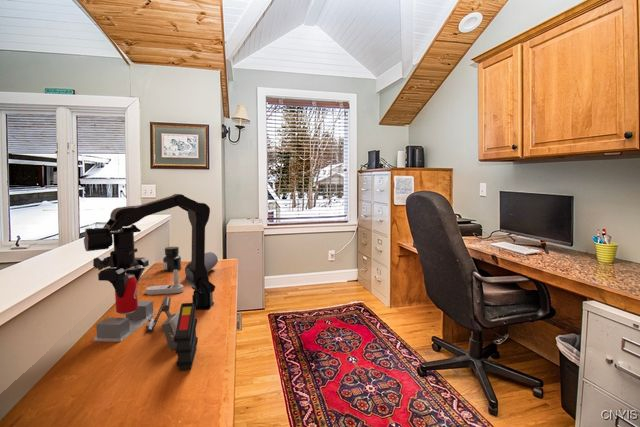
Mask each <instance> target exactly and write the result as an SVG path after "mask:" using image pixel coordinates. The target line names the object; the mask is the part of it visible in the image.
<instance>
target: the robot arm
mask: <svg viewBox="0 0 640 427" xmlns="http://www.w3.org/2000/svg"><path fill="white" fill-rule="evenodd" d="M176 207H179V208H180V209H182V210H183V211H185V212H187V217H188V220H189V223H190V225H191V260H190V262H191V266H190V268H189V269H186V270H185V269H184V272H185V271H186V273H185V278H184V280H186V282H187V284H188V286H190V287H191V289H192V290H194V291H193V294H192V296H191V297H192V301H191V303H194V305H196V308H195V310H210V309H211V308H212V307H213V305H215V301H213V300H214V296H213V293H214V292H215V289H216V285H215V284H213V283H212V282H211V281H210V279H209V277H210V276H209V272H207V269H206V267H205V253H206V226H207V224H208V222H209V220H210V215H211V208H210V206H209V205H208V204H207V203H204V202H198V201H196V200H194V199H191V198H189V197H187V196H185V195H184V194H183V193H182V194H181V193H174V194H172V195H170V196H166V197H163V198H160V199H156V200H152V201H149V202H146V203H143V204H138V205H130V206H129V205H127V206H121V207H120V206H119V207H116V208H113V209H112V211H111V213H110V218H109V219H108V220H107V222H106V223H105V224H104V226H103V227H98V228H97V227H96V228H91V227H90V228H89V227H88V228H85V230H84V231H85V232H84V238H83V245H84V250H85V252H93V251H101V250H109V249H110V247H112V245H113V250H112V251H110V252H109V256H106V257H103V256H101V255H100V256H98V257H94V258H93V260H92V261H93V262H92V263H93V264H92V265H93V268H95V269H97V270H98V271H99V272H98V274H97V280H98V281H99V282H100V281H104V282H109V283H110V284H112V287H113V289H114V292H115V291H116V293H117V295H118V297H119V298H122V297H123V295H124V292H125V288H126V284H127V280H128V277H124V276H125V274H134V275H135V277H136V279H137V284H138V283H139V281H140V278H141V277H142V274H143V273H144V271H145V270H146V267H148V266H149V265H150V264H149V259H148V258H147V257H136V255H135V254H136V253H138V248H136V247H135V234H134V233H139V232H141V231H142V230H141V229H140V228H139V227H137V225H136V223H138V222H139V221H141V220H143V219H144V218H146V217H148V216H151V215H153V214H157V213H160V212H163V211H164V212H165V211H167V210H170V209H173V208H176Z"/></svg>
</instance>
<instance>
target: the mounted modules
mask: <svg viewBox="0 0 640 427" xmlns="http://www.w3.org/2000/svg"><path fill="white" fill-rule="evenodd" d="M153 311H154V300H138V309H137V310H136V311H135V312H133V313H130V314H125V316H126V317H147V316H149V315H150V314H151V313H153ZM95 324H96V326H95V328H96V329H95V330H96V336H97V337H115V338H120V337H122V336H123V335H124V334H126V333H127V332H128V331H129V330H130V325H129V318H124V317H105V318H104V319H102V320H101V321H99V322H98V323H95Z"/></svg>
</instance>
